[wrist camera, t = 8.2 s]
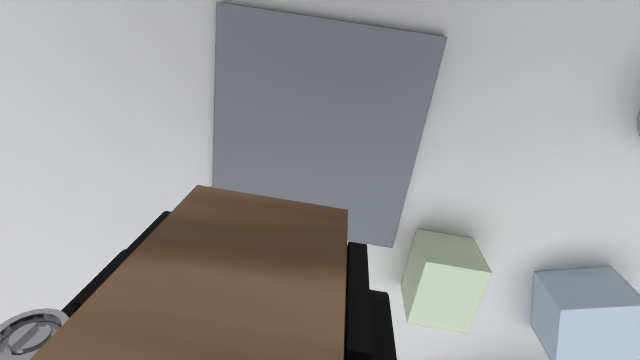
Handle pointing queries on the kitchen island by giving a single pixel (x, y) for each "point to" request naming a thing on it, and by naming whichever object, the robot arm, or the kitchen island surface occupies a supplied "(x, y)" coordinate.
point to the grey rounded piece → (638, 122)
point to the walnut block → (221, 286)
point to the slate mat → (321, 112)
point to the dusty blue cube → (586, 314)
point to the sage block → (443, 281)
